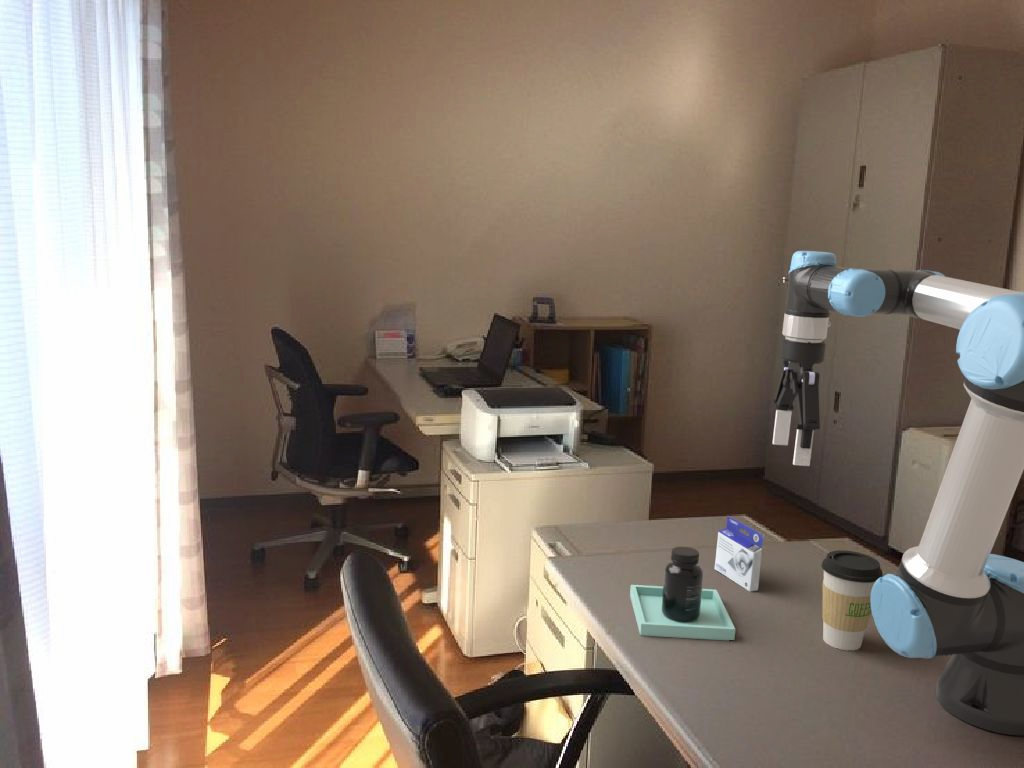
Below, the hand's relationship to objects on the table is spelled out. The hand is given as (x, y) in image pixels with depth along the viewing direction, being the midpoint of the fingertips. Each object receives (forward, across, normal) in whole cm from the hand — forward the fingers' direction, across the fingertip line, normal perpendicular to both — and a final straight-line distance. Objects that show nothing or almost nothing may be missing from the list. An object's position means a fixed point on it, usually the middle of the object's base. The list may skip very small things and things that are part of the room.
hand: (790, 454), depth 166 cm
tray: (+29, -9, +19) cm, 36 cm away
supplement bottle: (+28, -9, +19) cm, 35 cm away
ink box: (+29, +9, +5) cm, 31 cm away
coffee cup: (+29, -15, -8) cm, 34 cm away
